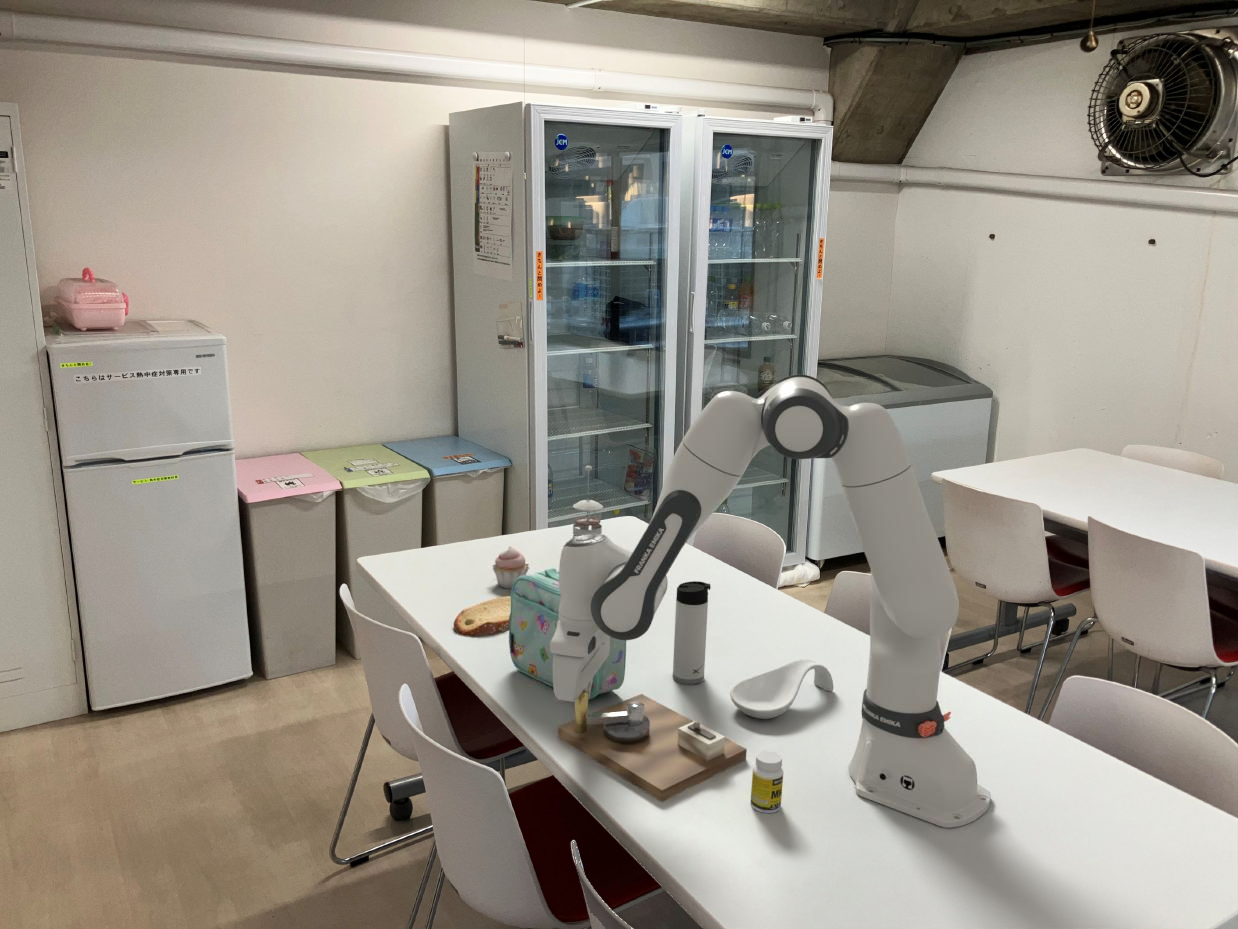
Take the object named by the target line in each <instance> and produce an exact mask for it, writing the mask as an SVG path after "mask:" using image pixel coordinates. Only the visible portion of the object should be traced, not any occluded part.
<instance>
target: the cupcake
mask: <svg viewBox="0 0 1238 929" xmlns="http://www.w3.org/2000/svg"><path fill="white" fill-rule="evenodd" d="M494 563H495V564H492V565H491V567H492V568H491V569H492V570H493V572H494V574H495V577H496V578H495V579H496V582H497V584H498V586H499V587H500V588H504V589H512V586H513V584H514V582H515V581H516V579H517V578H518V577H519V576H522V575H527V574H528V571H529V569H530V567H529V566H530V564H529V563H526V557H525V556H524V554H523V553H522V552H520V551H518V550H517V549H516V548H514V547H512V546H510V545H509V546H508V548H507V550H504V551H502V552H500V553H499V554H498V556H497V557H496V558H495V560H494Z"/></svg>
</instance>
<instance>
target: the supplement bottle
mask: <svg viewBox="0 0 1238 929" xmlns="http://www.w3.org/2000/svg"><path fill="white" fill-rule="evenodd" d="M782 766H783V757H782V755H781V754H780V753H778V752H776V751H773V750H761V751H758V752H757V753H756V756H755V765H753V767H752V774H751V776H752V777H751V778H752V779H751V791H750V806H751V807H752V808H753V809H754V810H756V811H758V812H759V813H764V814H772V813H776V812H777V811H779V810H780V809H781V806H782V796H783V794H782V793H783V781H784V769H783V767H782Z"/></svg>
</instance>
